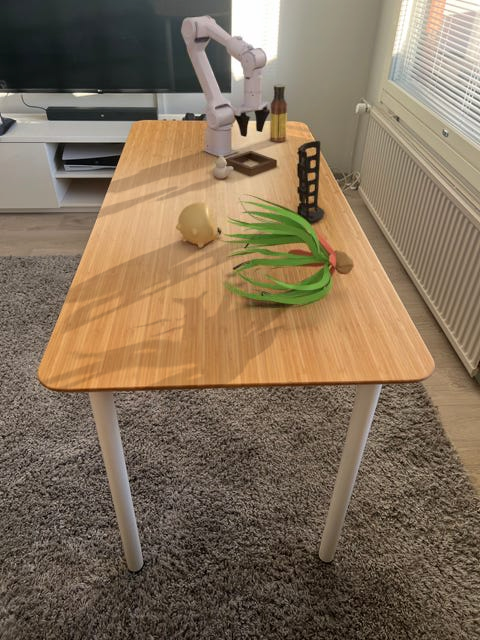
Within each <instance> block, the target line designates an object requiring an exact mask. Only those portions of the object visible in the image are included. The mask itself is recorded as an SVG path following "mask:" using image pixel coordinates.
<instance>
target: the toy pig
mask: <svg viewBox="0 0 480 640" xmlns="http://www.w3.org/2000/svg"><path fill="white" fill-rule="evenodd" d="M177 222H178V223H177V224H176V225H175V228H176V230H177V231H179V232H180V234H181V236H182V238H181V239H182V241H183V242H185V243H186V242H189V243H190V244H193V245H197V248H199V249H202V248H203V247H204V246H205V245H206V244H208V243H210V242H213V241H216V240H217V239H219V238H220V236H221V234H222V232H221V231H222V229H221V228H220V227H219V226H218V225H219V224H218V223H217V221H216V218H215V216H214V213H213V211H212V209H211V207H210V206H209V205H208V204H207V203H205V202H194V203H190V204H188V205H187V206H185V207H184V208H183V209H182V210H181V212H180V213H179V217H178V221H177ZM217 236H218V237H217Z"/></svg>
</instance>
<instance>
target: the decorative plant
mask: <svg viewBox="0 0 480 640" xmlns="http://www.w3.org/2000/svg"><path fill="white" fill-rule="evenodd" d="M244 196H248V197H253V198H254V199H255V198H256V199H258V200H260V201H262V202H265V203H267V204H270V205H267V204H263V203H260V202H259V203H258V202H253V201H243V200H241V199H240V196H239V197H238V199H239V202H238V201H237V203H236V204H235V205H237V204H238V203H239V204H240V203H241V206H242V208H243V209H244V211H242V212H241V214H247V215H249V216H250V217H252V218H253V219H255V220H257V221H260V222H252V223H251V222H246V221H241V220H238V219H233V218H231V217H229V216H228V215H226V217H227V218H228V219H229V220H228V219H227V218H224V220H226V222H228V223H230V224H232V225H236V226H238V227H244V228H246V229H244V230H243V232H245V231H249V230H250V231H251V230H255V231H259V232H260V233H235V234H227V233H224V232H223V231H222V230H221V233H222V234H223V235H224V236H226V237H229V238H235V239H239V240H223V239H220V241H221V242H222V243H229V244H245V246H240V247H239V246H238V247H235V248H228V249H225V248H224V249H223V248H222V249H221V250H223V251H229V250H230V251H231V250H238V249H244V250H238V251H235V252H231V253H227V254H225V256H226V258H232V257H237V256H245V255H250V254H254V253H255V254H256V253H259V254H261V255H264V256H269V257H280V258H252V259H251V260H247V261H244V262H241V263H239V264H237V265H235V266H233V267H232V270H233V271H234V272H232V273H231V276H232V275H236V274H238V275H239V277H240V278H242V281H246V282H248V283H250V284H251V285H254V286H258V287H260V288H264V289H269V290H270V289H271V290H278V291H284V292H277V293H271V292H267V291H265V290H260V289H253V288H252V289H251V290H252V291H251V290H250V291H251V292H252V293H251V292H247V291H248V289H247V290H245V291H242V290H240V289H238V288H237V287H235V286H234V285H233V284H232V283H230V282H229V281H227V283H228V284H229V285H230V286H231V287H230V286H228V285H227V284H226V283H223V282H222V281H221V280H222V279H220V283H221V284H222V286H224V287H226V289H228V290H229V291H231V292H233V293H235V294H237V295H239V296H243V297H245V298H249V299H253V300H259V301H269V302H270V301H271V302H275V303H274V305H275V304H276V305H277V304H278V303H279V304H288V305H296V306H291V307H289V306H288V307H270V308H269V307H267V309H270V310H287V309H288V310H289V309H296V308H301V307H306V306H309V305H312V304H314V303H317V302H318V301H321V300H322V299H324V297H326V296H327V295H328V294H329V293H330V291H331V289H332V286H333V280H332V277H333V276H334V273H335V271H336V272H337V274H339V275H348V274H350V273H351V271H352V270H353V268H354V267H355V264H354V260H353V259H352V257H350V255H348V254H347V253H346V252H344V251H342V250H337V249H335V250H334V249H333V247H331V245H330V243H328V241H326V239H325V238H324V237H323V236H322V235H321V234H320V233H319V232H318V230H317V229H315V228H314V227H313V226H312V224H310V223H309V222H308V221H307V220H306V219H304V218H303V217H302V216H300V215H299V214H298V212H296V211H293V210H291V209H290V208H288V207H285V206H283V205H280V204H278V203H274V202H272V201H269V200H266V199H263V198H260V197H258V196H255V195H251V194H247V193H244ZM243 203H244V204H250V205H253V206H256V207H259V208H262V209H265V210H268V211H269V212H265V211H254V210H251V211H250V210H247V209H246V208H245V206H244V205H243ZM270 211H271V212H270ZM258 216H259V217H262V218H259V217H258ZM263 218H266V219H269V220H266V219H263ZM230 220H231V221H230ZM271 220H272V221H271ZM217 237H218V236H217ZM218 238H219V237H218ZM240 239H241V240H240ZM290 244H305V245H306V246H307V247H308V249H309V251H308V250H303V249H298V248H297V249H296V248H295V249H290V250H288V251H287V252H283V251H281V252H280V251H272V250H270V249H267V248H265V247H275V246H281V245H290ZM249 245H250V246H249ZM216 246H217V248H219V247H218V245H216ZM246 249H247V250H246ZM257 266H262V267H266V268H262V267H261V268H260V267H259V268H256V269H254V273H255V272H257V271H258V270H262V269H265V270H266V269H267V267H271V268H270V270H275V269H281V268H282V269H283V267H290V268H293V267H294V268H295V267H304V268H320V267H322V268H320V269H319V270H318V271H316V273H315V274H312V275H311V276H309V277H307V278H305V279H303V280H302V281H299V282H296V283H286V282H283V281H280V280H278V279H275V278H273V277H271V276H270V275H268V274H267V273H266V274H265V273H263V277H266V278H268V279H270V280H271V281H273V282H275V283H276V284H270V283H263V282H260V281H256V280H253V279H251V278H249V276H247V275H246V274H245V270H248V269H251V268H254V267H257ZM272 267H273V268H272ZM240 272H243V274H244V275H243V274H241V273H240ZM285 290H286V291H285ZM253 291H257V292H259V293H253ZM216 293H218V291H216ZM298 304H299V305H298ZM255 305H256V304H254V303H252V306H253V307H254V308H255ZM263 305H267V303H264V304H263ZM256 308H259V309H260V307H258V306H257V307H256Z"/></svg>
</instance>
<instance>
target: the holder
mask: <svg viewBox="0 0 480 640" xmlns="http://www.w3.org/2000/svg"><path fill="white" fill-rule="evenodd" d="M312 148H314V149H315V154H313V155H308V152H307V151H306V150H308V149H312ZM296 154H297V155H298V162H297V163H296V173H297V175H296V176H297V178H298V186H297V187H296V188H297V189H296V191H297V193H298V201H299V202H298V205H297V206H296V207H297V214H299V215H300V216H302V217H303V218H304V219H306V220H307V221H308V222H309V223H310V225H312V224H315V223H317V222H318V221H321V220H322V219H323V218H324V216H325V211H324V209H323V208H321V207H320V206H319V205H318V203H319V201H318V199H319V187H320V165H321V140H314V141H309V142H305V143H302V144H301V145H300V146H299V147H298V148H297V153H296ZM313 161H315V165H314V167H312V166H311V163H312V162H313ZM313 173H314V178H313V179H310V180H309V174H313ZM312 185H314V190H312V191H311V186H312ZM310 197H313V201H312V202H310V200H309V198H310ZM310 209H314V210H310Z"/></svg>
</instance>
